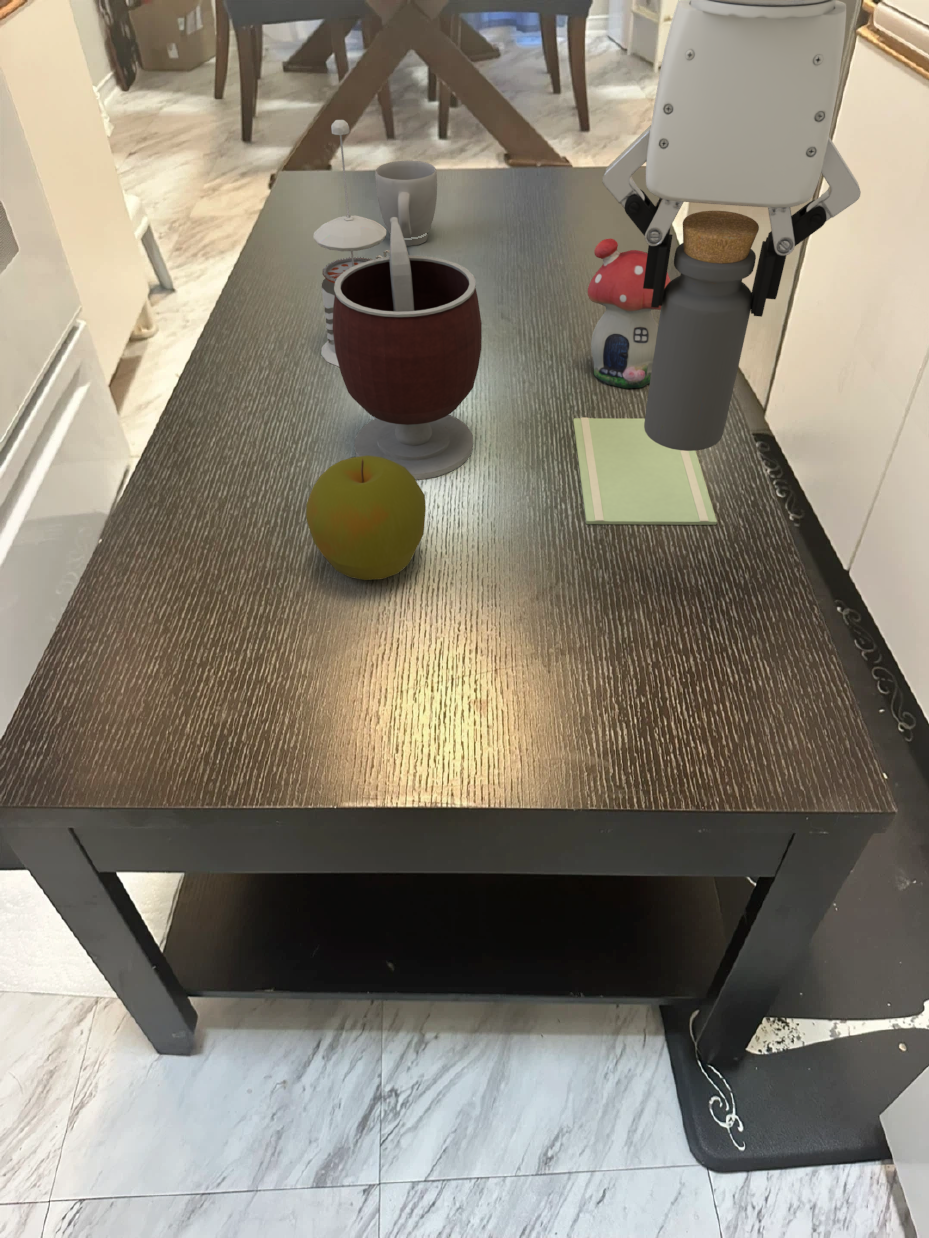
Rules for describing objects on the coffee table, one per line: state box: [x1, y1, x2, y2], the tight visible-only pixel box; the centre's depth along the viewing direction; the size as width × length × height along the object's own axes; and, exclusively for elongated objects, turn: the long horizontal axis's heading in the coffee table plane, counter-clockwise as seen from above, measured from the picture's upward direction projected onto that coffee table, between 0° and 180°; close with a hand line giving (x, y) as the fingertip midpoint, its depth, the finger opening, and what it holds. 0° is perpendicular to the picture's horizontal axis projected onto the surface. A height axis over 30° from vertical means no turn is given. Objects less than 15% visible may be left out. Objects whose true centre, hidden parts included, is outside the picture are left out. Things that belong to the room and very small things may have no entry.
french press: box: [313, 119, 390, 368], centre depth 98 cm, size 10×12×25 cm
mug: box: [374, 159, 438, 247], centre depth 128 cm, size 12×9×10 cm
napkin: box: [572, 416, 718, 526], centre depth 88 cm, size 18×12×1 cm, turn 179°
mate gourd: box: [333, 217, 483, 480], centre depth 85 cm, size 16×14×20 cm
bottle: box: [644, 210, 760, 452], centre depth 61 cm, size 6×6×15 cm
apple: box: [305, 456, 427, 581], centre depth 74 cm, size 10×10×11 cm
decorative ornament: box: [587, 238, 672, 390], centre depth 97 cm, size 9×7×15 cm
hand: (706, 301), depth 59 cm, fingers closed on bottle, 5 cm apart
